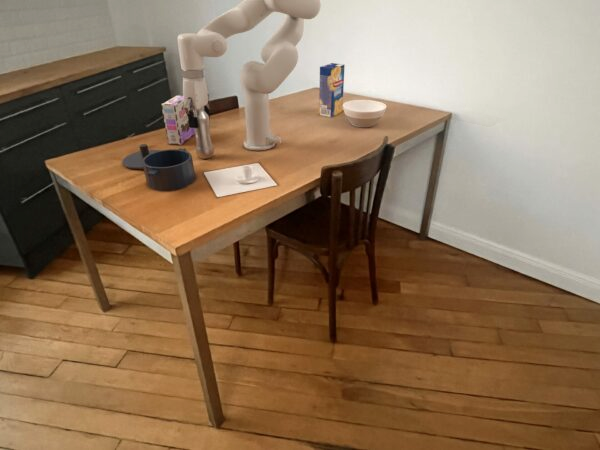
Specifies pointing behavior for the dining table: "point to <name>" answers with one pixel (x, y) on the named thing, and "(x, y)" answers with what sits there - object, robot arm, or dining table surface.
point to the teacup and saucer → (239, 179)
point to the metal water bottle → (203, 135)
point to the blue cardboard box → (331, 89)
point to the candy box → (176, 121)
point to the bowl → (364, 112)
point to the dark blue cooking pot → (169, 169)
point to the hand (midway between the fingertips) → (200, 123)
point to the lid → (137, 157)
